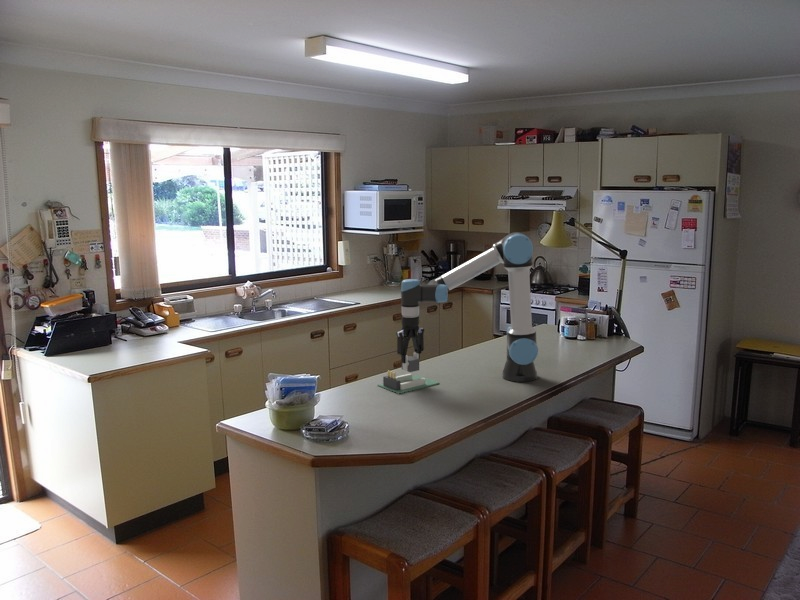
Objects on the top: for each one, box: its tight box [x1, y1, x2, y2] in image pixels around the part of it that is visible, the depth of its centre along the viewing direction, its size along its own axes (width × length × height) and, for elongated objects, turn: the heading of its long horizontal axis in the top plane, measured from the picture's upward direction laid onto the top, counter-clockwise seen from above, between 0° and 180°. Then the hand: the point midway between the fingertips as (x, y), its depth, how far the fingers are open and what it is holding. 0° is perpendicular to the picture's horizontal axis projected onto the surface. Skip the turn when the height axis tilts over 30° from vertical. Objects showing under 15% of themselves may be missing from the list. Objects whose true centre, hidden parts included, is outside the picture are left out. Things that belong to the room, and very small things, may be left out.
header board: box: [377, 369, 440, 394], centre depth 287 cm, size 15×22×8 cm
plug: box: [401, 355, 420, 373], centre depth 287 cm, size 6×5×5 cm
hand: (410, 368), depth 287 cm, fingers closed on plug, 5 cm apart
